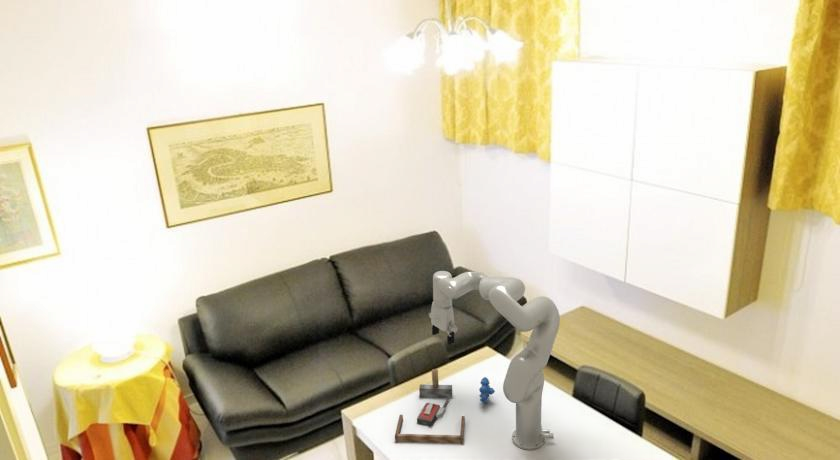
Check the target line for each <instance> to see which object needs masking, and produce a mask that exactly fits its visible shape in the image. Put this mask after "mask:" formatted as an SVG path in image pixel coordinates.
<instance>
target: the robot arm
mask: <svg viewBox="0 0 840 460" xmlns="http://www.w3.org/2000/svg"><path fill="white" fill-rule="evenodd" d="M477 290H478V291H479V294H480V296H481V298H482V299H483V300H487V301H489V302H490V304H491V305H492V306H493V308H494V309H495V310H496V311H497V312H498V313H499V314H500V315H501V316H502V317H504V318H505V319H506V321H508V323H510V324H511V325H512V326H513V327H514V328H515V329H517V330H518V331H521V332H523V333H524V332H525V333H526V332H531V333H530V336H529V339H528V342H527V344H526V346H525V347H524V349H522V350H521V351H519V353H518V354H517V353H516V354H515V355H514V357H513V358H512V359H511V360H510V362H509V364H508V368H507V371H506V373H505V377H504V381H503V385H502V391H503V394H504V396H505V399H507V400H508V401H509V402H510V403H512V404H515V430H514V431H513V432H512V434H511V441H512V443H513V444H514V445H515V446H516V447H518V448H520V449H523V450H527V451H533V450H538V449H540V448H542V447H543V446H544V445H545V443H546V439H552V440H553V439H554V437H555V436H554V435H555V434H554V432H553V433H552V432H551V430H550V429H543V426H542V406H543V405H542V403H543V402H542V399H543V392H544V385H545V375H544V372H543V370H544V369H545V367H546V366H547V364H548V361H549V360H550V356H551V353H552V351H553V347H554V344H555V341H556V338H557V335H558V332H559V329H560V325H561V322H560V320H561V318H560V312H559V309H558V307H557V305H556V303H555V302H554V301H553V300H552V299H551V298H549V297H547V296H544V295H543V296H537V297H534V298H533V299H531V300H529V301H528V302H526V303H524V304H523V305H520V303H519V302H518V301H519V300H520V299H522V298H523V296H524V295H525V291H526V285H525V283H524V282H523V281H522V280H521V279H519V278H516V277H508V276H507V277H506V276H505V277H503V276H501V277H500V276H488V275H487V274H485V273H484V272H481V271H465V272H462V273H460V274H458V275H457V276H455V277H453V276H452V274H451V273H450V272H449V271H446V270H439V271H435V272H434V273H433V276H432V300H433V301H432V302H431V303H432V304H431V308H430V309H431V310H430V312H428V318H429V321H430V323H431V324H430V326H431V328H432V329H431V330H432V331H431V333H432V335H433V336H435V335H438V334H439V333H440V330H441V331H442V332H446V333H447V338H446V340H447V342H446V343H447V345H448V346H450V345H452V344H454V343H455V335H456V334H457V332H458V331H459V328H458V326H457V325H456V324H455V314H454V308H453V300H456V299H459V298H461V297H462V296H464V295H466V294H467V293H469V292H471V291H477Z"/></svg>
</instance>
